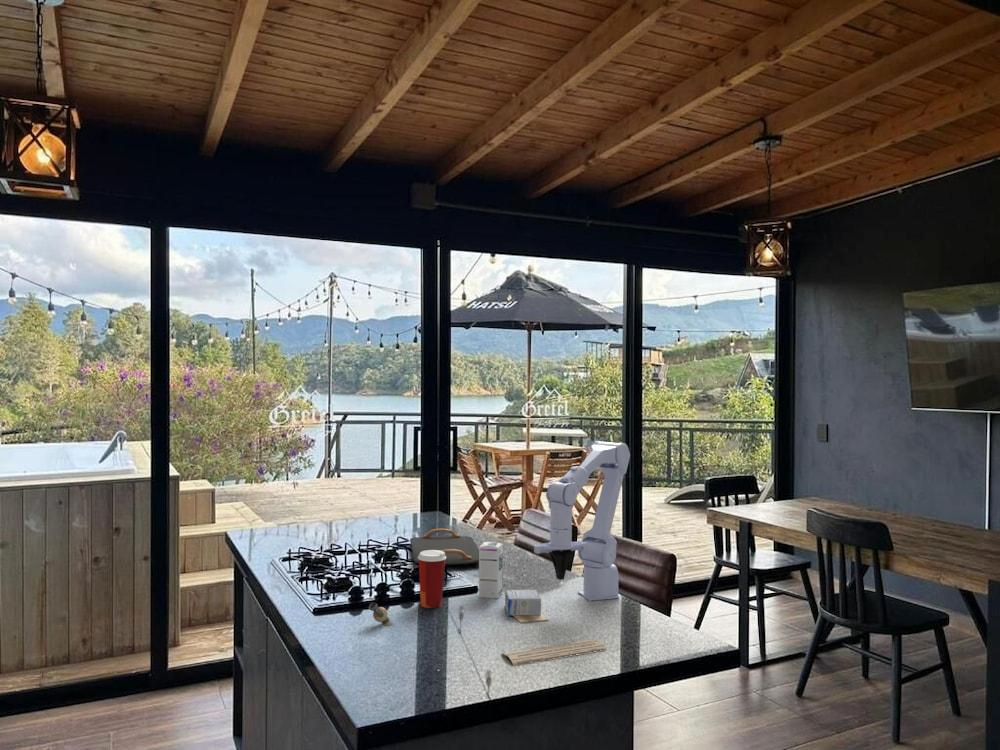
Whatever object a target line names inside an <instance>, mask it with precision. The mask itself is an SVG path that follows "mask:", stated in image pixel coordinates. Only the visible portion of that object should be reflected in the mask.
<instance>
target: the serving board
mask: <svg viewBox="0 0 1000 750" xmlns="http://www.w3.org/2000/svg"><path fill="white" fill-rule="evenodd" d="M435 533H448V534H450V535H432V534H435ZM409 542H410V547H411V552H412V556H413V561H414V563H416V564H419V559H418V556H419V554H420V552H422V551H426V550H439V551H443V552H444V553H445V556H446V559H445V566H446V565H467V564H473V566H474V567H475V568H479V547H478V545H477V544H476V542H475V540H474V539H473V537H471V536H466V535H464V536H461V535H460V534H457V533H456V532H455V531H453V530H452V529H451V528H449V529H448V528H434V529H431V530H429V531H428V532H427V533H426V534H424V535H422V536H416V537H412V538H411V537H410V539H409Z"/></svg>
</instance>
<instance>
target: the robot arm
mask: <svg viewBox="0 0 1000 750" xmlns="http://www.w3.org/2000/svg"><path fill="white" fill-rule="evenodd" d="M630 453H631V452H630V449H629V446H628V445H627V443H625V442H611V441H610V442H609V441H601V440H596V441H594V443H593V444H592V445H590V450H589V454H588V455H587V456H586V457H585V459H584V460H583V461H582V462H581V464H579V465H575V466H573V465H572V466H571V467H570V469H569V470H568V471H567V472H566V473H565V474H564V475H563V476H562V477H561V478H560V479H559V480H558V481H552V483H550V484H549V485H548V486H547V489H546V492H545V496H546V500H547V502H548V508H549V510H550V515H549V516H550V520H549V521H550V524H549V525H550V526H549V528H550V529H549V542H544V543H540V544H534V545H533V552H534V553H535V554H537V555H540V554H542V553H544V554H545V553H548V556H549V558H550V559H551V561H552V564H553V565H552V566H553V568H554V571H555V577H556V579H558V580H560V581H561V580H564V579H565V576H566V572H567V569H568V566H569V564H570V562H571V560H572V559H573V557H574V554H573V552H575V551H577V555H578V558H579V559H580V560H581V564H583V590H582V589H581V590H578V591H577V593H578V594H580V596H582V597H584V598H585V599H586V600H587V601H600V600H610V599H620V595H619V577H620V576H619V575H620V574H619V571H618V567H617V566H616V564H614V563H615V561H616V558H617V543H618V541H617V540H616V538H615V537H614V535H613V534H612V533H611V531H612V527H613V522H614V519H615V518H614V517H615V514H616V510H617V505H618V500H619V496H620V492H621V488H622V484H623V479H624V475H625V474H627V470H628V466H629V463H630V458H631V454H630ZM597 469H598V470H599V471H600V472H602V473H603V476H604V479H603V482H602V486H601V491H600V493H599V494H600V495H599V499H598V503H597V507H596V512H595V516H594V519H593V523H592V527H591V528H590V529H587V530H586V531H585V532H584V533H583V535H582V538H581V540H580V541H572V540H573V538H572V536H573V535H572V534H573V533H572V530H573V505H574V504H575V503H576V502H577V499H578V495H579V493H580V490H582V489H583V488H584V487H585V486H586V485H587V484H588V483H589V480H590V478H589V477H590V475H591V474H592V473H593V472H594V471H595V470H597ZM572 551H573V552H572Z"/></svg>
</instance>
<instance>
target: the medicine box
mask: <svg viewBox="0 0 1000 750" xmlns="http://www.w3.org/2000/svg"><path fill="white" fill-rule="evenodd" d="M504 595H505V596H504V606H505V607H506V608H505V607H504V608H505V610H506V614H507V615H508V616H513V615H540V614H541V613H542V598H541V596H540V594H539V593H538V590H537V589H505V593H504Z"/></svg>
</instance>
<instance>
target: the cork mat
mask: <svg viewBox="0 0 1000 750" xmlns="http://www.w3.org/2000/svg"><path fill="white" fill-rule="evenodd" d="M504 608H505V609H506V607H505V605H504ZM512 616H513V617H514V618H515V619H516V620H517V621H518V623H520V624H524V623H525V622H527V623H535V622H534V621H538V622H547V621H549V618H547V616H545V615H544V614H543V613H542V612H541V614H540V615H512ZM525 624H526V623H525Z"/></svg>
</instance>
